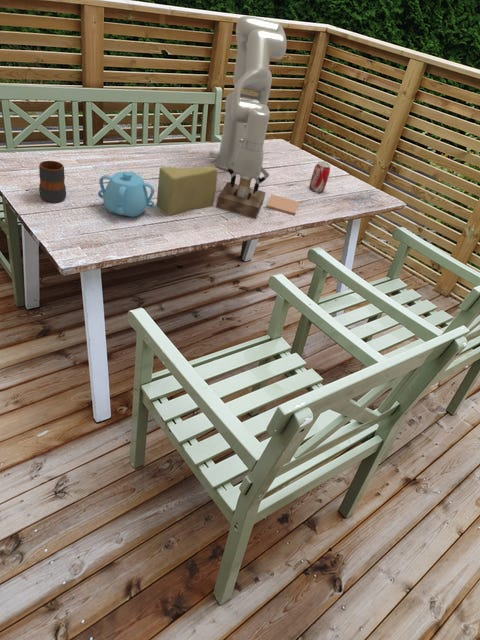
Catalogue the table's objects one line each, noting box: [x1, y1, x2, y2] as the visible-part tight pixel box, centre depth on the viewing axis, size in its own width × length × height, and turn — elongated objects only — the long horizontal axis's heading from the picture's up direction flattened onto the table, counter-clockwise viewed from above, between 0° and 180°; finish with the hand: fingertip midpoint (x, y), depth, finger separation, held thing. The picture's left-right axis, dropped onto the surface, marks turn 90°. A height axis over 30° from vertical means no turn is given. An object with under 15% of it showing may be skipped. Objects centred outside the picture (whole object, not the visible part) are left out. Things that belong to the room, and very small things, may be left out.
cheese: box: [156, 166, 218, 216], centre depth 178 cm, size 22×10×15 cm, turn 125°
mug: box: [38, 160, 67, 204], centre depth 166 cm, size 9×12×12 cm
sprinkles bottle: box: [237, 175, 253, 199], centre depth 189 cm, size 5×5×13 cm
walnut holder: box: [215, 181, 266, 219], centre depth 192 cm, size 16×16×4 cm
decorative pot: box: [97, 170, 155, 218], centre depth 168 cm, size 16×16×14 cm
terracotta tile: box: [265, 194, 300, 216], centre depth 200 cm, size 12×12×1 cm
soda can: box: [309, 161, 331, 193], centre depth 217 cm, size 7×7×12 cm
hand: (243, 189), depth 189 cm, fingers open, 8 cm apart
